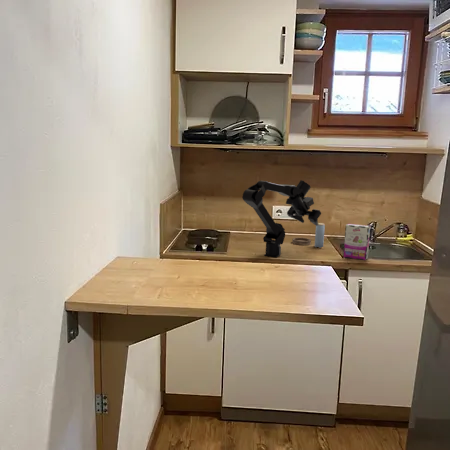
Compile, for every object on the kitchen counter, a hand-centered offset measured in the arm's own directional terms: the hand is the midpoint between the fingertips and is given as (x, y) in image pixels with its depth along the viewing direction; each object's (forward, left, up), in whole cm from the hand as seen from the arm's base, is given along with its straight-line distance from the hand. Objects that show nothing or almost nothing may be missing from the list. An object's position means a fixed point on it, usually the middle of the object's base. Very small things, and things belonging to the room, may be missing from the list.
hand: (310, 223), depth 244 cm
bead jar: (+4, +8, -13) cm, 16 cm away
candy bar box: (+25, -7, -14) cm, 29 cm away
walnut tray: (-7, +11, -13) cm, 19 cm away
